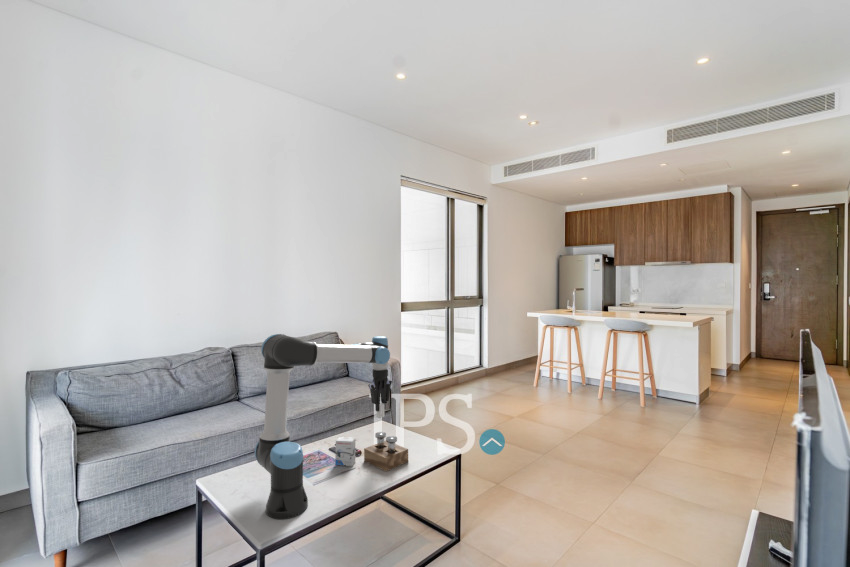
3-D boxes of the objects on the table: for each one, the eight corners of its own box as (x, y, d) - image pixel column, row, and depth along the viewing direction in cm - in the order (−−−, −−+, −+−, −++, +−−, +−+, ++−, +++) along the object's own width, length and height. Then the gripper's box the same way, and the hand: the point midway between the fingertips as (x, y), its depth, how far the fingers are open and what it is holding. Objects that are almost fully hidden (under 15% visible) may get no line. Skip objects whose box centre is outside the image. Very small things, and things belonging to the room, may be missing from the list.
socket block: (386, 471, 189) (385, 458, 189) (364, 460, 200) (364, 448, 200) (408, 461, 199) (408, 449, 199) (386, 452, 211) (386, 440, 210)
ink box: (334, 465, 195) (334, 440, 195) (338, 461, 200) (338, 436, 200) (352, 466, 195) (352, 441, 194) (355, 461, 200) (355, 437, 200)
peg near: (391, 455, 193) (391, 441, 193) (383, 452, 197) (383, 438, 197) (399, 452, 197) (399, 438, 197) (392, 449, 201) (392, 435, 201)
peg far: (380, 451, 199) (379, 436, 199) (373, 448, 203) (373, 433, 203) (388, 447, 203) (388, 433, 203) (381, 445, 206) (381, 431, 206)
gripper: (373, 372, 195) (373, 422, 195) (396, 367, 205) (396, 415, 205) (363, 369, 200) (363, 418, 200) (386, 365, 210) (386, 411, 210)
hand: (380, 416), depth 203 cm, fingers closed
